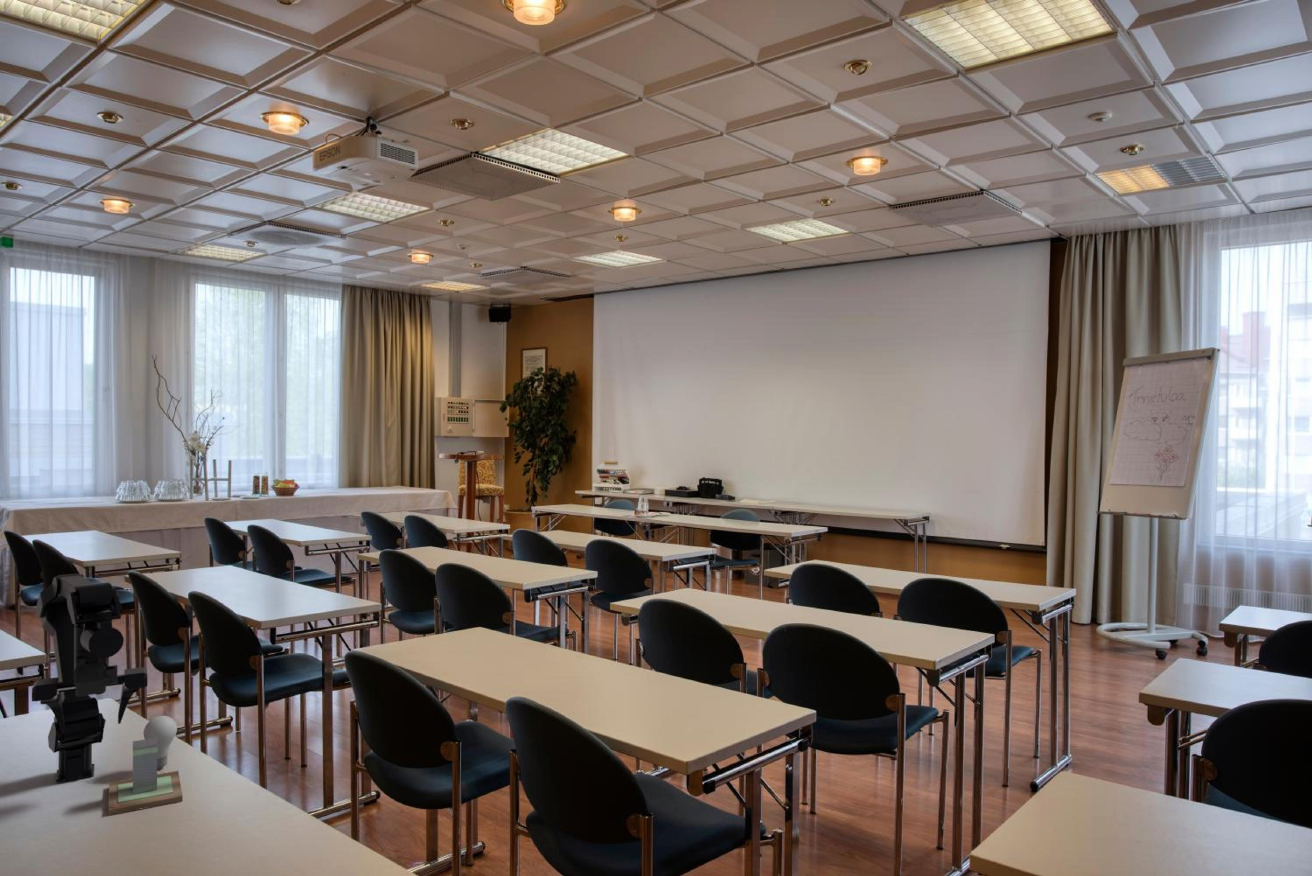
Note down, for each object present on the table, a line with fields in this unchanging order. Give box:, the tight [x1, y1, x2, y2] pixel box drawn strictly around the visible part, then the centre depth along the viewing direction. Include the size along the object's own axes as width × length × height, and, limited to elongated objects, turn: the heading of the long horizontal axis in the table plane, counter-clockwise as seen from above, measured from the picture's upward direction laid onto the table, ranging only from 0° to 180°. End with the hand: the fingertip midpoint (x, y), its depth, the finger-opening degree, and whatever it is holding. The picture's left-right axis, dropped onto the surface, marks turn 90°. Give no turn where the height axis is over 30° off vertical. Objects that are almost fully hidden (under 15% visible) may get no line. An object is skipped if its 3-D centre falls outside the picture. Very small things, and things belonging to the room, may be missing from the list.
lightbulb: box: [143, 715, 178, 770], centre depth 180 cm, size 6×6×11 cm
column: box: [132, 738, 158, 794], centre depth 167 cm, size 4×4×9 cm
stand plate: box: [108, 770, 183, 816], centre depth 168 cm, size 14×12×1 cm
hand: (91, 727), depth 168 cm, fingers open, 9 cm apart
